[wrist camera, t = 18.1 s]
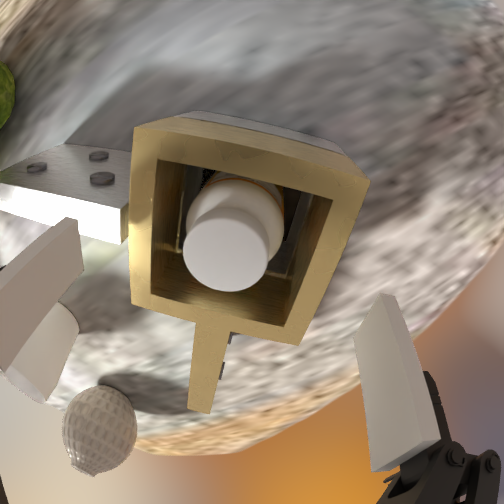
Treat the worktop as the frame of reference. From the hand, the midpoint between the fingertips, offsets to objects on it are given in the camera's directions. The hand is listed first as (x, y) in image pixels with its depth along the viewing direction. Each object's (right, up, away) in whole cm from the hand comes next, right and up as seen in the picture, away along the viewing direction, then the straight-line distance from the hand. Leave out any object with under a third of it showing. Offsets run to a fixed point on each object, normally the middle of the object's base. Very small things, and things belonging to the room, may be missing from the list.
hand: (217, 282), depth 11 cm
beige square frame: (0, +1, +13) cm, 13 cm away
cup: (-25, -8, +22) cm, 34 cm away
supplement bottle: (+1, +6, +10) cm, 12 cm away
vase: (-23, -24, +31) cm, 46 cm away
